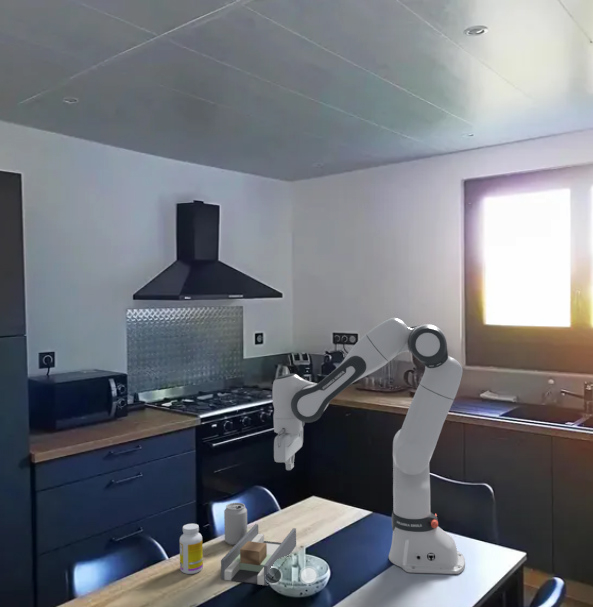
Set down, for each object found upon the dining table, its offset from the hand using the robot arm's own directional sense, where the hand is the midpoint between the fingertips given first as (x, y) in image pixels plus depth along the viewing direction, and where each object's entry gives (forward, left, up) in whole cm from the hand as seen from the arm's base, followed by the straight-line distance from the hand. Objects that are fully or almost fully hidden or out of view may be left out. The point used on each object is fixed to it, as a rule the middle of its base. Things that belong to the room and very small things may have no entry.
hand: (289, 468), depth 188 cm
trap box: (+6, +11, -26) cm, 28 cm away
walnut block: (+7, +15, -23) cm, 29 cm away
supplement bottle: (+24, +21, -26) cm, 41 cm away
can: (+19, -1, -26) cm, 32 cm away
